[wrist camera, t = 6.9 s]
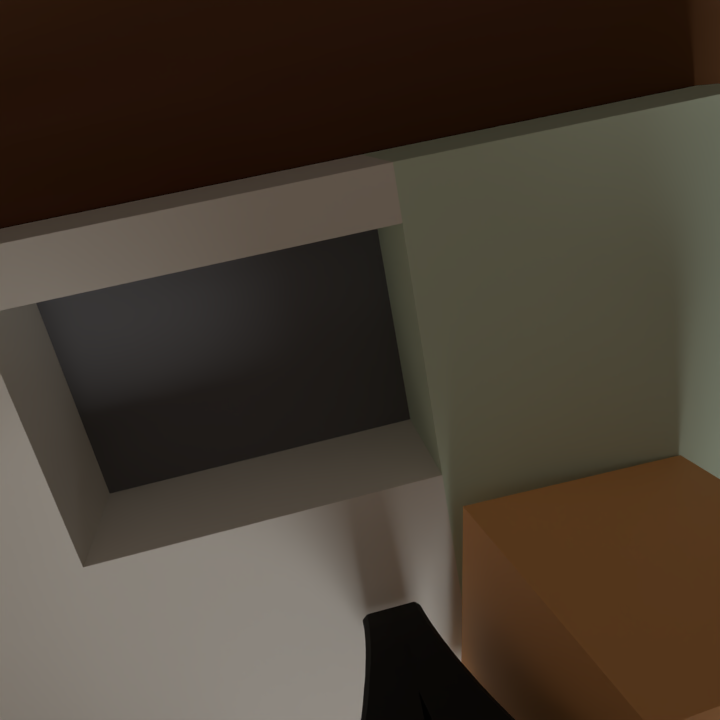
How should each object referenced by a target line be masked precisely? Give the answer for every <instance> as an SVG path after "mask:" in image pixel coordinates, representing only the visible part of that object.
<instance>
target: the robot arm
mask: <svg viewBox="0 0 720 720" xmlns="http://www.w3.org/2000/svg"><path fill="white" fill-rule="evenodd" d="M363 626H364V632H365V647H366V661H365V682H364V694H363V706H362V715H361V720H515V719H514V718H513V717H512V716H511V715H510V714H509V713H508V712H507V711H506V710H505V709H504V708H503V707H502V706H501V705H500V704H499V703H498V702H497V701H496V700H495V699H494V698H493V697H492V696H491V695H490V694H489V692H488V691H487V690H486V689H485V688H484V687H483V686H482V685H481V684H480V683H479V682H478V680H477V679H476V678H475V677H474V676H473V675H472V674H471V672H470V671H469V670H468V669H467V668H466V667H465V666H464V664H463V663H462V662H461V661H460V660H459V659H458V657H457V656H456V655H455V654H454V652H453V651H452V650H451V649H450V647H449V646H448V645H447V644H446V642H445V641H444V640H443V638H442V637H441V636H440V634H439V633H438V632H437V630H436V629H435V627H434V626H433V624H432V623H431V621H430V620H429V618H428V617H427V615H426V614H425V612H424V610H423V609H422V607H421V605H420V604H418V603H416V602H411V603H407V604H403V605H400V606H396V607H392V608H389V609H385V610H381V611H377V612H374V613H370V614H367V615H366V616H365V618H364V619H363Z"/></svg>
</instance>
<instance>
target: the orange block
mask: <svg viewBox="0 0 720 720" xmlns="http://www.w3.org/2000/svg"><path fill="white" fill-rule="evenodd" d="M461 662H462V663H463V664H464V666H465V667H466V668H467V669H468V670H469V671H470V672H471V674H472V675H473V676H474V677H475V678H476V679H477V680H478V682H479V683H480V684H481V685H482V686H483V687H484V688H485V689H486V690H487V691H488V692H489V694H490V695H491V696H492V697H493V698H494V699H495V700H496V701H497V702H498V703H499V704H500V705H501V706H502V707H503V708H504V709H505V710H506V711H507V712H508V713H509V714H510V715H511V716H512V717H513V718H514V719H515V720H720V479H719V478H717V477H715V476H714V475H712V474H711V473H709V472H707V471H706V470H704V469H702V468H701V467H699V466H698V465H696V464H694V463H693V462H691V461H689V460H688V459H686V458H684V457H683V456H681V455H679V456H674V457H670V458H666V459H662V460H657V461H653V462H649V463H645V464H640V465H636V466H632V467H628V468H623V469H619V470H615V471H611V472H606V473H602V474H598V475H594V476H589V477H585V478H581V479H577V480H572V481H568V482H564V483H560V484H555V485H551V486H547V487H543V488H538V489H534V490H530V491H526V492H521V493H517V494H513V495H509V496H504V497H500V498H496V499H492V500H487V501H483V502H479V503H475V504H470V505H466V506H463V562H462V655H461Z"/></svg>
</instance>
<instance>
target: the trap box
mask: <svg viewBox="0 0 720 720" xmlns="http://www.w3.org/2000/svg"><path fill="white" fill-rule="evenodd" d="M679 455H681V456H683V457H684V458H686V459H688V460H689V461H691V462H693V463H694V464H696V465H698V466H699V467H701V468H702V469H704V470H706V471H707V472H709V473H711V474H712V475H714V476H715V477H717V478H719V479H720V84H709V85H698V86H692V87H687V88H682V89H678V90H673V91H668V92H663V93H658V94H653V95H648V96H643V97H639V98H634V99H629V100H624V101H619V102H614V103H609V104H605V105H600V106H595V107H590V108H585V109H580V110H575V111H571V112H566V113H561V114H556V115H551V116H546V117H541V118H537V119H532V120H527V121H522V122H517V123H512V124H507V125H503V126H498V127H493V128H488V129H483V130H478V131H473V132H468V133H464V134H459V135H454V136H449V137H444V138H439V139H434V140H430V141H425V142H420V143H415V144H410V145H405V146H400V147H396V148H391V149H386V150H381V151H376V152H371V153H366V154H362V155H357V156H352V157H347V158H342V159H337V160H332V161H327V162H323V163H318V164H313V165H308V166H303V167H298V168H293V169H289V170H284V171H279V172H274V173H269V174H264V175H259V176H255V177H250V178H245V179H240V180H235V181H230V182H225V183H221V184H216V185H211V186H206V187H201V188H196V189H191V190H187V191H182V192H177V193H172V194H167V195H162V196H157V197H152V198H148V199H143V200H138V201H133V202H128V203H123V204H118V205H114V206H109V207H104V208H99V209H94V210H89V211H84V212H80V213H75V214H70V215H65V216H60V217H55V218H50V219H46V220H41V221H36V222H31V223H26V224H21V225H16V226H11V227H7V228H2V229H0V720H361V715H362V706H363V694H364V682H365V661H366V647H365V632H364V626H363V619H364V618H365V616H366V615H367V614H370V613H374V612H377V611H381V610H385V609H389V608H392V607H396V606H400V605H403V604H407V603H411V602H416V603H418V604H420V605H421V607H422V609H423V610H424V612H425V614H426V615H427V617H428V618H429V620H430V621H431V623H432V624H433V626H434V627H435V629H436V630H437V632H438V633H439V634H440V636H441V637H442V638H443V640H444V641H445V642H446V644H447V645H448V646H449V647H450V649H451V650H452V651H453V652H454V654H455V655H456V656H457V657H458V659H459V660H460V661H461V655H462V562H463V506H466V505H470V504H475V503H479V502H483V501H487V500H492V499H496V498H500V497H504V496H509V495H513V494H517V493H521V492H526V491H530V490H534V489H538V488H543V487H547V486H551V485H555V484H560V483H564V482H568V481H572V480H577V479H581V478H585V477H589V476H594V475H598V474H602V473H606V472H611V471H615V470H619V469H623V468H628V467H632V466H636V465H640V464H645V463H649V462H653V461H657V460H662V459H666V458H670V457H674V456H679Z"/></svg>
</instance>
